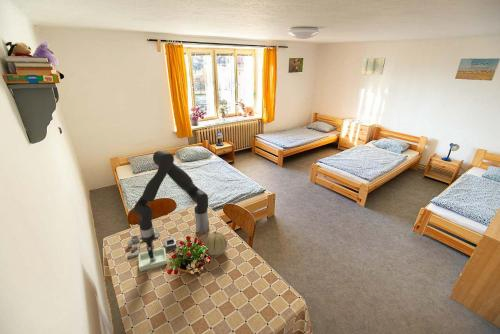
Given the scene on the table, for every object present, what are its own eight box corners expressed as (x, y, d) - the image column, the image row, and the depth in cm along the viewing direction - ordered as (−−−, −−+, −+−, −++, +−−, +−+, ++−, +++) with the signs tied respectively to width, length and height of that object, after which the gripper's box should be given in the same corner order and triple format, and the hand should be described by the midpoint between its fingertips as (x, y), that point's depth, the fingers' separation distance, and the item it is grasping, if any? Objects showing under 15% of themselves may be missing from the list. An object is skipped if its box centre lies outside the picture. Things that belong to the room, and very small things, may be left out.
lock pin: (156, 256, 158) (153, 244, 153) (156, 261, 154) (153, 248, 150) (149, 258, 156) (146, 245, 151) (149, 263, 153) (147, 250, 148)
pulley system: (116, 254, 161) (133, 260, 155) (114, 248, 159) (132, 254, 154) (147, 230, 184) (162, 235, 179) (146, 225, 182) (161, 229, 177)
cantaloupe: (212, 263, 154) (210, 245, 148) (201, 249, 165) (200, 232, 158) (231, 253, 162) (231, 236, 156) (220, 241, 173) (220, 224, 166)
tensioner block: (175, 240, 172) (175, 237, 171) (176, 247, 166) (176, 244, 165) (165, 243, 170) (164, 240, 168) (166, 250, 164) (165, 246, 163)
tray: (165, 250, 163) (164, 247, 162) (167, 264, 153) (166, 260, 152) (139, 257, 158) (138, 253, 156) (139, 271, 148) (138, 267, 146)
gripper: (154, 239, 141) (158, 259, 148) (153, 224, 153) (157, 243, 160) (140, 242, 138) (145, 262, 145) (140, 227, 150) (145, 246, 157)
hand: (151, 252), depth 153 cm, fingers open, 8 cm apart
